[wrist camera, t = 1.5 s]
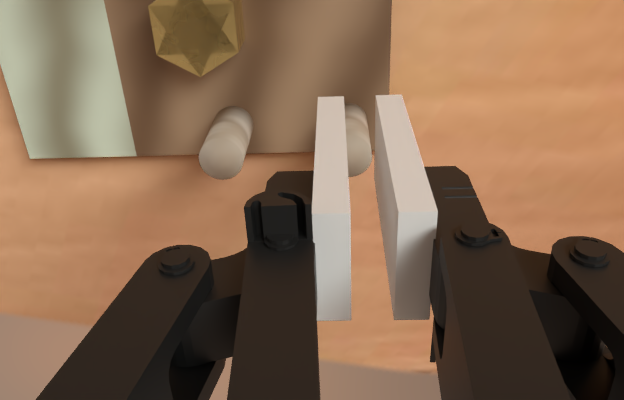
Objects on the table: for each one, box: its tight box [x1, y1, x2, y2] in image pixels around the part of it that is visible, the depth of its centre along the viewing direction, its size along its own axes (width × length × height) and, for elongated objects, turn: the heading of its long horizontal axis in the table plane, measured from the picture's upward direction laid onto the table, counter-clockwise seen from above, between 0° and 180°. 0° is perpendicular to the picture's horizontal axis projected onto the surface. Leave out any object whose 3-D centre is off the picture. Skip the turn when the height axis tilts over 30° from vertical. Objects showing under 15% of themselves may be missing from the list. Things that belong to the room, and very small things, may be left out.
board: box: [0, 0, 392, 180], centre depth 31 cm, size 23×17×6 cm
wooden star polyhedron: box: [148, 0, 245, 77], centre depth 31 cm, size 4×5×3 cm
